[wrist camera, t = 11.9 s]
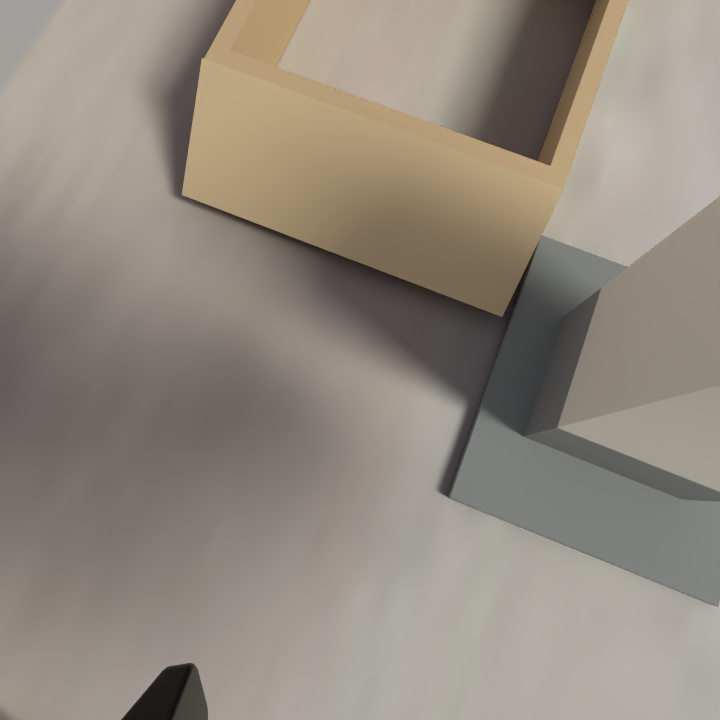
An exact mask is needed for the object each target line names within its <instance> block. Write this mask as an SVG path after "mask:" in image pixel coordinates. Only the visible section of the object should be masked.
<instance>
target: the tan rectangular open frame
mask: <svg viewBox="0 0 720 720" xmlns="http://www.w3.org/2000/svg"><path fill="white" fill-rule="evenodd" d="M309 1H310V0H236V1H235V3H234V5H233V7H232V9H231V10H230V12H229V14H228V16H227V18H226V19H225V21H224V23H223V25H222V27H221V28H220V30H219V32H218V34H217V36H216V38H215V39H214V41H213V43H212V45H211V47H210V48H209V50H208V52H207V54H206V56H205V57H204V58H202V60H201V67H200V74H199V81H198V88H197V94H196V101H195V108H194V115H193V122H192V128H191V135H190V142H189V149H188V155H187V162H186V169H185V176H184V183H183V189H182V195H183V196H186V197H188V198H191V199H194V200H196V201H199V202H202V203H204V204H207V205H209V206H212V207H215V208H217V209H220V210H223V211H225V212H228V213H230V214H233V215H236V216H238V217H241V218H244V219H246V220H249V221H251V222H254V223H257V224H259V225H262V226H264V227H267V228H270V229H272V230H275V231H278V232H280V233H283V234H285V235H288V236H291V237H293V238H296V239H299V240H301V241H304V242H306V243H309V244H312V245H314V246H317V247H320V248H322V249H325V250H327V251H330V252H333V253H335V254H338V255H341V256H343V257H346V258H348V259H351V260H354V261H356V262H359V263H362V264H364V265H367V266H369V267H372V268H375V269H377V270H380V271H383V272H385V273H388V274H390V275H393V276H396V277H398V278H401V279H403V280H406V281H409V282H411V283H414V284H417V285H419V286H422V287H424V288H427V289H430V290H432V291H435V292H438V293H440V294H443V295H445V296H448V297H451V298H453V299H456V300H459V301H461V302H464V303H466V304H469V305H472V306H474V307H477V308H480V309H482V310H485V311H487V312H490V313H493V314H495V315H498V316H501V317H502V316H503V314H504V312H505V310H506V308H507V306H508V304H509V302H510V300H511V298H512V296H513V294H514V292H515V289H516V287H517V285H518V283H519V281H520V279H521V277H522V275H523V273H524V271H525V269H526V267H527V265H528V262H529V260H530V258H531V256H532V254H533V252H534V250H535V248H536V246H537V244H538V242H539V240H540V237H541V235H542V233H543V231H544V229H545V227H546V225H547V223H548V221H549V219H550V217H551V215H552V213H553V210H554V208H555V206H556V204H557V202H558V200H559V198H560V196H561V194H562V192H563V190H564V189H563V188H564V185H565V182H566V179H567V176H568V173H569V170H570V168H571V165H572V162H573V159H574V156H575V153H576V150H577V147H578V144H579V142H580V139H581V136H582V133H583V130H584V127H585V124H586V121H587V118H588V116H589V113H590V110H591V107H592V104H593V101H594V98H595V95H596V92H597V90H598V87H599V84H600V81H601V78H602V75H603V72H604V69H605V66H606V64H607V61H608V58H609V55H610V52H611V49H612V46H613V43H614V40H615V38H616V35H617V32H618V29H619V26H620V23H621V20H622V17H623V14H624V12H625V9H626V6H627V3H628V0H596V1H595V4H594V7H593V10H592V12H591V15H590V18H589V21H588V23H587V26H586V29H585V32H584V34H583V37H582V40H581V43H580V45H579V48H578V51H577V54H576V56H575V59H574V62H573V65H572V67H571V70H570V73H569V76H568V78H567V81H566V84H565V87H564V89H563V92H562V95H561V98H560V100H559V103H558V106H557V109H556V111H555V114H554V117H553V120H552V122H551V125H550V128H549V131H548V133H547V136H546V139H545V142H544V144H543V147H542V150H541V153H540V156H539V158H538V161H535V160H533V159H530V158H527V157H524V156H521V155H519V154H516V153H513V152H510V151H508V150H505V149H502V148H499V147H496V146H494V145H491V144H488V143H485V142H483V141H480V140H477V139H474V138H472V137H469V136H466V135H463V134H460V133H458V132H455V131H452V130H449V129H447V128H444V127H441V126H438V125H435V124H433V123H430V122H427V121H424V120H422V119H419V118H416V117H413V116H410V115H408V114H405V113H402V112H399V111H397V110H394V109H391V108H388V107H385V106H383V105H380V104H377V103H374V102H372V101H369V100H366V99H363V98H361V97H358V96H355V95H352V94H349V93H347V92H344V91H341V90H338V89H336V88H333V87H330V86H327V85H324V84H322V83H319V82H316V81H313V80H311V79H308V78H305V77H302V76H299V75H297V74H294V73H291V72H288V71H286V70H283V69H280V68H277V67H276V66H277V64H278V62H279V60H280V58H281V56H282V54H283V52H284V50H285V48H286V46H287V44H288V42H289V40H290V38H291V36H292V34H293V32H294V31H295V29H296V27H297V25H298V23H299V21H300V19H301V17H302V15H303V13H304V11H305V9H306V7H307V5H308V3H309Z"/></svg>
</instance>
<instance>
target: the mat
mask: <svg viewBox="0 0 720 720" xmlns="http://www.w3.org/2000/svg"><path fill="white" fill-rule="evenodd" d="M626 268H627V267H626V266H623V265H620V264H618V263H615V262H612V261H609V260H607V259H604V258H601V257H599V256H596V255H593V254H591V253H588V252H585V251H582V250H580V249H577V248H574V247H572V246H569V245H566V244H563V243H561V242H558V241H555V240H553V239H550V238H547V237H544V236H542V235H541V237H540V240H539V242H538V244H537V246H536V248H535V250H534V252H533V255H532V258H531V260H530V263H529V266H528V269H527V272H526V275H525V278H524V280H523V283H522V286H521V289H520V292H519V295H518V298H517V300H516V303H515V306H514V309H513V312H512V315H511V318H510V320H509V323H508V326H507V329H506V332H505V335H504V338H503V340H502V343H501V346H500V349H499V352H498V355H497V358H496V360H495V363H494V366H493V369H492V372H491V375H490V378H489V380H488V383H487V386H486V389H485V392H484V395H483V398H482V400H481V403H480V406H479V409H478V412H477V415H476V418H475V420H474V423H473V426H472V429H471V432H470V435H469V438H468V440H467V443H466V446H465V449H464V452H463V455H462V458H461V460H460V463H459V466H458V469H457V472H456V475H455V478H454V480H453V483H452V486H451V489H450V492H449V495H448V498H450V499H453V500H455V501H458V502H460V503H463V504H465V505H468V506H470V507H472V508H475V509H477V510H480V511H482V512H485V513H487V514H490V515H492V516H495V517H497V518H499V519H502V520H504V521H507V522H509V523H512V524H514V525H517V526H519V527H522V528H524V529H527V530H529V531H531V532H534V533H536V534H539V535H541V536H544V537H546V538H549V539H551V540H554V541H556V542H559V543H561V544H563V545H566V546H568V547H571V548H573V549H576V550H578V551H581V552H583V553H586V554H588V555H591V556H593V557H595V558H598V559H600V560H603V561H605V562H608V563H610V564H613V565H615V566H618V567H620V568H623V569H625V570H627V571H630V572H632V573H635V574H637V575H640V576H642V577H645V578H647V579H650V580H652V581H655V582H657V583H659V584H662V585H664V586H667V587H669V588H672V589H674V590H677V591H679V592H682V593H684V594H687V595H689V596H691V597H694V598H696V599H699V600H701V601H704V602H706V603H709V604H711V605H714V606H717V607H718V605H719V601H720V502H716V501H697V500H681V499H679V498H676V497H674V496H671V495H669V494H666V493H664V492H661V491H659V490H656V489H654V488H651V487H649V486H646V485H644V484H641V483H639V482H636V481H634V480H631V479H629V478H626V477H624V476H621V475H619V474H616V473H614V472H611V471H608V470H606V469H603V468H601V467H598V466H596V465H593V464H591V463H588V462H586V461H583V460H581V459H578V458H576V457H573V456H571V455H568V454H566V453H563V452H561V451H558V450H556V449H553V448H551V447H548V446H546V445H543V444H541V443H538V442H536V441H533V440H531V439H528V438H526V437H523V436H524V433H525V430H526V427H527V424H528V421H529V418H530V415H531V412H532V409H533V406H534V403H535V399H536V396H537V393H538V390H539V387H540V384H541V381H542V378H543V375H544V372H545V369H546V366H547V363H548V360H549V357H550V354H551V351H552V348H553V345H554V342H555V339H556V336H557V333H558V330H559V327H560V324H561V321H562V317H564V316H565V315H566V314H568V313H569V312H570V311H572V310H573V309H574V308H575V307H577V306H578V305H579V304H581V303H582V302H583V301H585V300H586V299H587V298H588V297H590V296H591V295H592V294H594V293H595V292H596V291H598V290H599V289H600V288H601V287H603V286H604V285H605V284H607V283H608V282H609V281H611V280H612V279H613V278H614V277H616V276H617V275H618V274H620V273H621V272H622V271H624V270H625V269H626Z"/></svg>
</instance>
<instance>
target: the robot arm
mask: <svg viewBox="0 0 720 720" xmlns="http://www.w3.org/2000/svg"><path fill="white" fill-rule="evenodd" d="M122 720H208V709H207V703H206V699H205V695H204V692H203V688H202V684H201V680H200V676H199V673H198V669H197V667H196V666H195V665H194V664H192V663H186V664H180V665H174V666H169V667H167V668H165V669H164V670H163V671H162V672H161V673H160V675H159V676H158V677H157V678H156V679H155V680H154V682H153V683H152V684H151V685H150V686H149V688H148V689H147V690H146V691H145V692H144V693H143V695H142V696H141V697H140V698H139V699H138V701H137V702H136V703H135V704H134V705H133V707H132V708H131V709H130V710H129V711H128V712H127V714H126V715H125V716H124V717H123V718H122Z"/></svg>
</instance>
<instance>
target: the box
mask: <svg viewBox="0 0 720 720" xmlns="http://www.w3.org/2000/svg"><path fill="white" fill-rule="evenodd" d="M523 437H526V438H528V439H531V440H533V441H536V442H538V443H541V444H543V445H546V446H548V447H551V448H553V449H556V450H558V451H561V452H563V453H566V454H568V455H571V456H573V457H576V458H578V459H581V460H583V461H586V462H588V463H591V464H593V465H596V466H598V467H601V468H603V469H606V470H608V471H611V472H614V473H616V474H619V475H621V476H624V477H626V478H629V479H631V480H634V481H636V482H639V483H641V484H644V485H646V486H649V487H651V488H654V489H656V490H659V491H661V492H664V493H666V494H669V495H671V496H674V497H676V498H679V499H681V500H697V501H716V502H720V197H718V198H717V199H716V200H714V201H713V202H712V203H711V204H709V205H708V206H707V207H705V208H704V209H703V210H701V211H700V212H699V213H698V214H696V215H695V216H694V217H692V218H691V219H690V220H688V221H687V222H686V223H685V224H683V225H682V226H681V227H679V228H678V229H677V230H675V231H674V232H673V233H672V234H670V235H669V236H668V237H666V238H665V239H664V240H663V241H661V242H660V243H659V244H657V245H656V246H655V247H653V248H652V249H651V250H650V251H648V252H647V253H646V254H644V255H643V256H642V257H640V258H639V259H638V260H637V261H635V262H634V263H633V264H631V265H630V266H629V267H627V268H626V269H625V270H624V271H622V272H621V273H620V274H618V275H617V276H616V277H614V278H613V279H612V280H611V281H609V282H608V283H607V284H605V285H604V286H603V287H601V288H600V289H599V290H598V291H596V292H595V293H594V294H592V295H591V296H590V297H588V298H587V299H586V300H585V301H583V302H582V303H581V304H579V305H578V306H577V307H575V308H574V309H573V310H572V311H570V312H569V313H568V314H566V315H565V316H564V317H562V321H561V324H560V327H559V330H558V333H557V336H556V339H555V342H554V345H553V348H552V351H551V354H550V357H549V360H548V363H547V366H546V369H545V372H544V375H543V378H542V381H541V384H540V387H539V390H538V393H537V396H536V399H535V403H534V406H533V409H532V412H531V415H530V418H529V421H528V424H527V427H526V430H525V433H524V436H523Z"/></svg>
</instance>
